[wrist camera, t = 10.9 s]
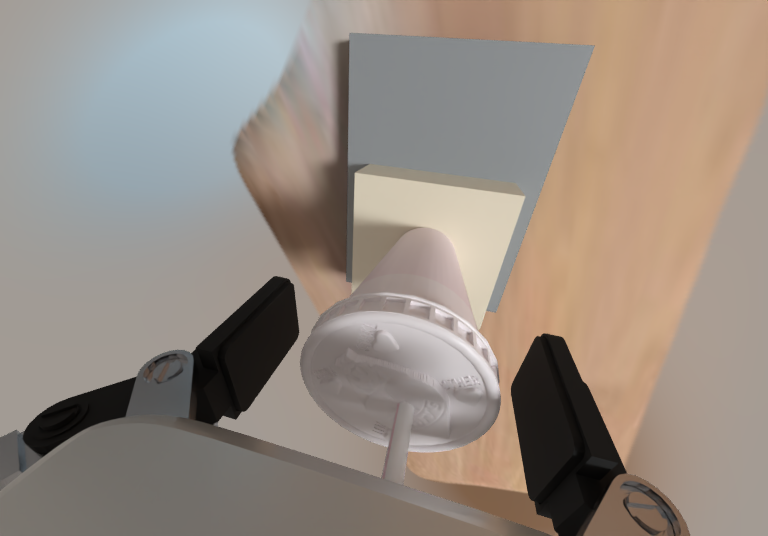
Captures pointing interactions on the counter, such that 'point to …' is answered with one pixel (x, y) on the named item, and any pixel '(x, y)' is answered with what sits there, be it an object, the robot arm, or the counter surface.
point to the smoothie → (405, 356)
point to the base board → (453, 147)
